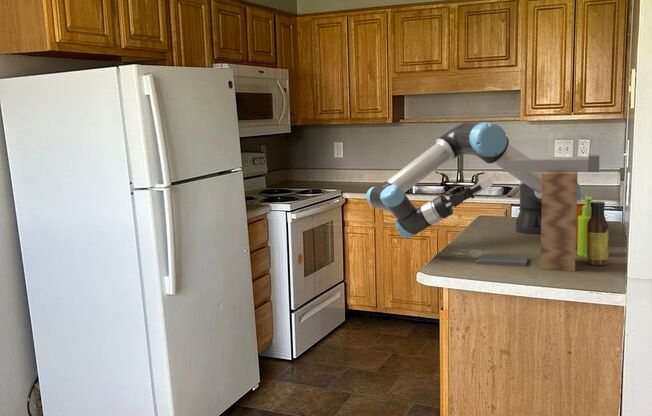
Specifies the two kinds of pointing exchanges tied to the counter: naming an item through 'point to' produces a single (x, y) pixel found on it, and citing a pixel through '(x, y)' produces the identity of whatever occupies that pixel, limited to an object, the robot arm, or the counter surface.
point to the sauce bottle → (597, 235)
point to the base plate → (503, 260)
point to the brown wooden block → (558, 220)
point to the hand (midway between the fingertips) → (493, 178)
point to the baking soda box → (579, 212)
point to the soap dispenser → (583, 227)
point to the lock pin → (552, 165)
